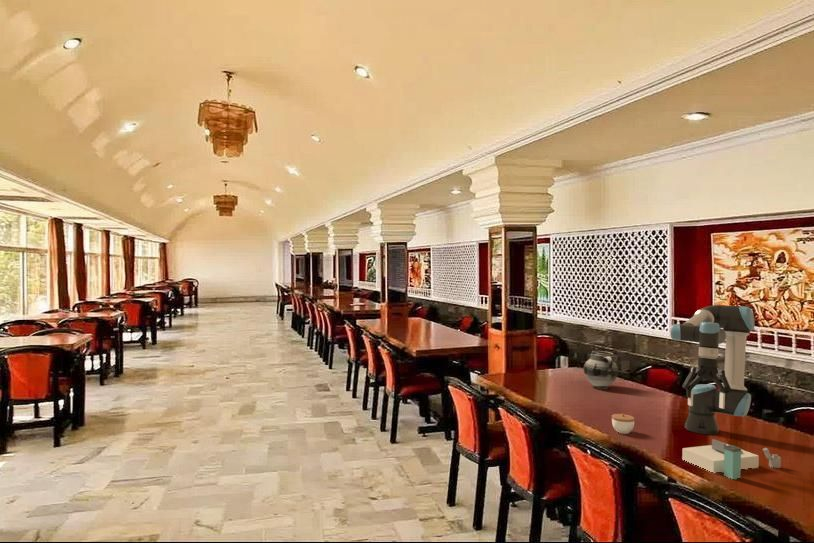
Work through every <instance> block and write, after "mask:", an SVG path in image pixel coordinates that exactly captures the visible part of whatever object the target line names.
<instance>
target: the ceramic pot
mask: <svg viewBox="0 0 814 543" xmlns="http://www.w3.org/2000/svg"><path fill="white" fill-rule="evenodd" d="M619 372H620V369H619V366H618V365H617V364H616V362H615V355H614V353H613V352H609V351H606V350H605V351H602V350H592V351H591V353H590V356H589V359H588V360H587V361H585V363H584V364H583V374H584V376H585V378H586V380H587V381H588V382H589V383H591V385H592V388H593V389H597V390H608V389H609V386H610V385H612V384H613V383H614V382H615V381H616V379H617V378H618V376H619Z"/></svg>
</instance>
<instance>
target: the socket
mask: <svg viewBox="0 0 814 543" xmlns="http://www.w3.org/2000/svg"><path fill="white" fill-rule="evenodd" d="M726 445H727V446H728V445H729V444H728V443H726ZM741 451H743V453H741V469H745V470H749V469H748V468H752V469H759V462H760V461H759V460H760V459H759V457H760V456H759V455H758V454H755V453H752V452H749V451H747V450H744V449H742V448H741ZM681 455H682V456H681V458H682V461H684V460H685V461H684V462H686V461H687V462H686V463H688V462H689V464H691V463H692V464H691V465H693V464H694V465H693V466H695V465H697V466H699V467H698V468H700V467H701V468H700V469H702V468H704V469H706V470H705V471H707V470H708V471H707V472H709V471H710V472H709V473H711V472H713V473H714V474H717V473H716V472H722V473H724V453H722V452H719V451H717V450H714V449H712V444H711V445H710V444H709V445H700V446H690V447H683V448H682V454H681ZM697 466H696V467H697ZM704 469H703V470H704ZM713 473H712V474H713Z"/></svg>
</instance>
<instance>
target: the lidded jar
mask: <svg viewBox="0 0 814 543" xmlns="http://www.w3.org/2000/svg"><path fill="white" fill-rule="evenodd" d="M635 421H636V420H635V417H634V416H633V415H629V414H625V413H614V414H612V415H611V424H612V427H613V429H614V431H617V432H616V433H618V432H619V433H618V434H622V435H628V434H630V433H631V432H632V431H633V429H634V428H635Z"/></svg>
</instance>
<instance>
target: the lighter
mask: <svg viewBox="0 0 814 543" xmlns="http://www.w3.org/2000/svg"><path fill="white" fill-rule="evenodd" d="M762 451H763V453H764V456H765V458H766V459H767V460H768V467H769V466H770V467H769V468H771V467H772V468H771V469H781V466H782V457H781V456H779V454H776V453H773V454H771V453H770V450H769V448H767V447H764V448H762ZM773 467H774V468H773Z"/></svg>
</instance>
